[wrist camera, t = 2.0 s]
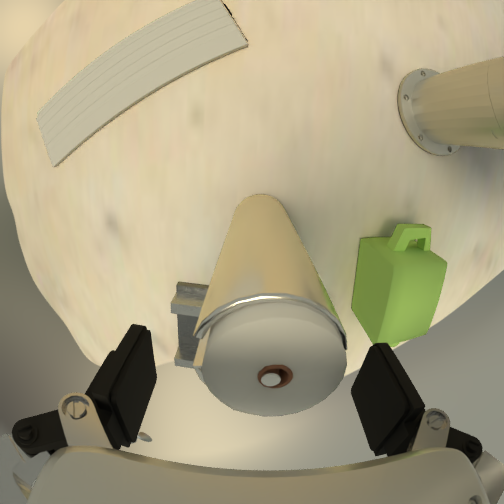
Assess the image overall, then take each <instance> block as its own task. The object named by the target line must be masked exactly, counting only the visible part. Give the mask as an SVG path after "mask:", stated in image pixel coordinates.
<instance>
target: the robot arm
mask: <svg viewBox="0 0 504 504" xmlns="http://www.w3.org/2000/svg"><path fill="white" fill-rule="evenodd" d="M398 107H399V111H400V116H401V119H402V121H403V124H404V126H405V128H406V130H407V132H408V134H409V135H410V136H411V138H412V139H413V140H414V141H415V143H416V144H417V145H418V146H419V147H421V148H422V149H423V150H425V151H427V152H429V153H431V154H434V155H441V156H445V155H450V154H453V153H455V152H456V151H457V150H458V149H459V148H460V147H461V146H473V147H484V148H494V149H502V150H504V57H499V58H495V59H491V60H487V61H482V62H479V63H475V64H471V65H467V66H464V67H460V68H457V69H453V70H450V71H447V72H444V73H441V74H440V73H438V72H436V71H434V70H431V69H417V70H415V71H412V72H411V73H409V74H407V75H406V76H405V78H404V79H403V81H402V82H401V84H400V88H399V92H398ZM156 380H157V374H156V368H155V361H154V354H153V347H152V339H151V332H150V330H147V328H146V326H142V325H136V324H132V325H131V326H130V328H129V330H128V331H127V333H126V334H125V336H124V338H123V339H122V341H121V343H120V344H119V346H118V347H117V349H116V351H114V350H112V351H111V352H110V353H109V354H108V356H107V357H106V359H105V361H104V362H103V364H102V366H101V367H100V369H99V371H98V372H97V374H96V376H95V377H94V379H93V381H92V382H91V384H90V386H89V388H88V389H87V391H86V393H85V394H82V393H77V392H76V393H70V394H67V395H66V396H64V397H63V398H62V399H61V400H60V402H59V405H58V410H54V411H51V412H48V413H44V414H40V415H37V416H33V417H29V418H25V419H21V420H19V421H18V422H17V423H15V425H14V427H13V430H12V434H11V435H8V434H5V435H3V436H1V437H0V504H497V502H498V500H499V498H500V496H501V495H502V493H503V491H504V464H502V463H501V462H500V461H499V460H497V459H496V458H494V457H493V456H492V455H491V454H489V453H488V452H487V451H484V452H482V445H481V443H480V441H479V440H478V439H477V438H475V437H473V436H471V435H469V434H466V433H464V432H461V431H459V430H456V429H454V428H451V427H450V420H449V417H448V416H447V414H446V413H445V412H444V411H442V410H440V409H436V408H431V409H428V410H427V411H425V409H424V407H425V404H424V403H423V401H422V399H421V397H420V395H419V394H418V392H417V390H416V389H415V387H414V385H413V384H412V382H411V380H410V378H409V377H408V375H407V373H406V372H405V370H404V368H403V367H402V365H401V363H400V362H399V360H398V359H397V357H396V355H395V354H394V352H393V351H392V349H391V347H390V346H389V344H388V343H375V344H374V345H373V346H371V347H370V348H369V351H368V353H367V355H366V358H365V360H364V362H363V364H362V367H361V369H360V371H359V374H358V375H357V377H356V379H355V382H354V384H353V386H352V388H351V394H352V397H353V400H354V403H355V406H356V409H357V411H358V414H359V417H360V420H361V423H362V426H363V428H364V432H365V434H366V437H367V440H368V444H369V446H370V449H371V450H372V451H374V453H375V456H379V455H383V454H386V453H387V456H388V457H385V458H380V459H375V460H371V461H365V462H360V463H355V464H349V465H341V466H334V467H326V468H316V469H304V470H279V471H258V470H234V469H220V468H211V467H203V466H195V465H189V464H182V463H177V462H171V461H166V460H161V459H156V458H151V457H146V456H142V455H138V454H134V453H129V452H125V451H121V450H119V449H120V447H121V445H122V446H125V447H130V444H131V442H135V441H136V438H137V435H138V432H139V429H140V426H141V423H142V420H143V418H144V415H145V412H146V409H147V406H148V403H149V400H150V397H151V395H152V392H153V389H154V386H155V384H156ZM35 480H36V481H35ZM34 481H35V484H34V486H33V488H31V487H32V483H33V482H34Z"/></svg>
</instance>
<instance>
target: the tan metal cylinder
mask: <svg viewBox="0 0 504 504" xmlns="http://www.w3.org/2000/svg"><path fill="white" fill-rule="evenodd" d="M193 336H194V337H196V338H199V339H200V341H199V345H198V348H197V352H196V356H195V359H194V363H193V367H194V369H195V371H196V373H197V374H198V376H199V378H200V380H201V381H203V382H204V384H206V385H207V387H208V389H209V390H210V392H211V393H212V394H213V395H214V396H215V397H217V398H218V399H219V400H220V401H221V402H223V403H224V404H225V405H227V406H228V407H230V408H231V409H233V410H236V411H240V412H244V413H248V414H253V415H259V416H283V415H288V414H294V413H298V412H300V411H303V410H306V409H308V408H311V407H313V406H314V405H316V404H318V403H319V402H321V401H323V400H324V399H326V398H327V397H328V396H329V395H330V394H331V393H332V392H333V391H334V390H335V389H336V388H337V386H338V385H339V384H340V382H341V380H342V379H343V377H344V373H345V370H346V366H347V359H346V351H345V350H347V339H346V333H345V330H344V328H343V326H342V324H341V322H340V319H339V317H338V315H337V313H336V311H335V309H334V306H333V304H332V302H331V300H330V298H329V296H328V294H327V292H326V290H325V288H324V286H323V283H322V281H321V279H320V277H319V275H318V273H317V271H316V269H315V267H314V265H313V263H312V261H311V259H310V257H309V255H308V253H307V251H306V249H305V247H304V245H303V243H302V241H301V239H300V238H299V236H298V234H297V232H296V230H295V228H294V226H293V224H292V222H291V220H290V218H289V217H288V215H287V213H286V211H285V209H284V207H283V206H282V204H281V203H280V202H279V201H278V200H277V199H275V198H273V197H271V196H268V195H265V194H256V195H252V196H249V197H247V198H246V199H244V200H243V201H242V202H241V203H240V204H239V205H238V207H237V208H236V210H235V213H234V215H233V218H232V221H231V224H230V227H229V229H228V232H227V235H226V238H225V241H224V244H223V247H222V249H221V252H220V255H219V258H218V261H217V264H216V267H215V270H214V273H213V276H212V279H211V282H210V285H209V288H208V291H207V294H206V297H205V300H204V303H203V306H202V309H201V312H200V315H199V318H198V321H197V324H196V328H195V331H194V334H193Z"/></svg>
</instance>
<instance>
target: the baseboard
mask: <svg viewBox="0 0 504 504" xmlns="http://www.w3.org/2000/svg"><path fill="white" fill-rule="evenodd" d="M222 3H223V2H222ZM222 3H221V2H220V0H195V1H193V2H191V3H189V4H186V5H184V6H182V7H180V8H178V9H176V10H174V11H172V12H170V13H168V14H166V15H164V16H162V17H160V18H158V19H156V20H155V21H153V22H151V23H149V24H147V25H146V26H144V27H142V28H141V29H139V30H137V31H136V32H134V33H132V34H131V35H129V36H128V37H126V38H125V39H123V40H122V41H120V42H119V43H117V44H116V45H114V46H113V47H111V48H110V49H109V50H107V51H106V52H105V53H103V54H102V55H100V56H99V57H98V58H97V59H95V60H94V61H93V62H91V63H90V64H89V65H88V66H86V67H85V68H84V69H83V70H82V71H80V72H79V73H78V74H77V75H76V76H74V77H73V78H72V79H71V80H70V81H69V82H68V83H67V84H66V85H64V86H63V87H62V88H61V89H60V90H59V91H58V92H57V93H56V94H55V95H54V96H53V97H52V98H51V99H50V100H49V101H48V102H47V103H46V104H45V105H44V106H43V107H42V108H41V109H40V110H39V111H38V112H37V118H36V120H37V122H38V125H39V129H40V131H41V134H42V138H43V140H44V143H45V147H46V149H47V152H48V155H49V158H50V161H51V163H52V166H53V167H57V166H58V165H59V164H60V163H61V162H62V161H63V160H64V159H65V158H66V157H67V156H68V155H70V154H71V153H72V152H73V151H74V150H75V149H76V148H77V147H79V146H80V145H81V144H82V143H83V142H85V141H86V140H87V139H88V138H89V137H91V136H92V135H93V134H94V133H96V132H97V131H98V130H99V129H101V128H102V127H103V126H105V125H106V124H107V123H109V122H110V121H111V120H113V119H114V118H115V117H117V116H118V115H120V114H121V113H123V112H124V111H125V110H127V109H128V108H130V107H131V106H133V105H134V104H136V103H137V102H139V101H140V100H142V99H144V98H145V97H147V96H148V95H150V94H152V93H153V92H155V91H156V90H158V89H160V88H162V87H163V86H165V85H167V84H168V83H170V82H172V81H174V80H176V79H177V78H179V77H181V76H183V75H185V74H187V73H189V72H191V71H193V70H195V69H197V68H199V67H201V66H203V65H205V64H207V63H209V62H211V61H214V60H216V59H218V58H220V57H223V56H225V55H227V54H230V53H232V52H234V51H237V50H239V49H242V48H245V47H247V46H248V44H247V42H248V41H247V39H246V40H245V39H244V37H245V36H244V37H243V35H244V34H243V33H242V34H243V35H242V34H241V32H242V31H241V32H240V31H239V29H240V28H239V29H238V28H237V26H238V25H237V26H236V24H237V23H236V24H235V23H234V21H235V20H234V21H233V20H232V18H233V17H232V18H231V17H230V15H231V16H232V13H231V12H230V11H229V9H228V8H227V6H226V5H225V4H224V3H223V4H224V6H225V7H226V9H227V10H228V12H229V13H230V15H229V13H228V12H227V11H226V9H225V8H224V6H223V4H222ZM233 19H234V18H233ZM238 27H239V26H238ZM240 30H241V29H240ZM246 41H247V42H246Z"/></svg>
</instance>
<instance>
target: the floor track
mask: <svg viewBox="0 0 504 504" xmlns="http://www.w3.org/2000/svg"><path fill="white" fill-rule="evenodd" d="M208 288H209V285H200V284H192V283H184V282H178V283H177V292H176V294H175V296H174V298H173V300H172V302H171V313H174V314H177V318H178V338H179V347H178V350H177V352H176V355H175V358H174V360H175V365H176V366H181V367H188V368H194V367H193V363H194V359H195V356H196V352H197V348H198V345H199V341H200V339H199V338H196V337H194V336H193V334H194V331H195V328H196V324H197V321H198V318H199V315H200V312H201V309H202V306H203V303H204V300H205V297H206V294H207V291H208Z"/></svg>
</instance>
